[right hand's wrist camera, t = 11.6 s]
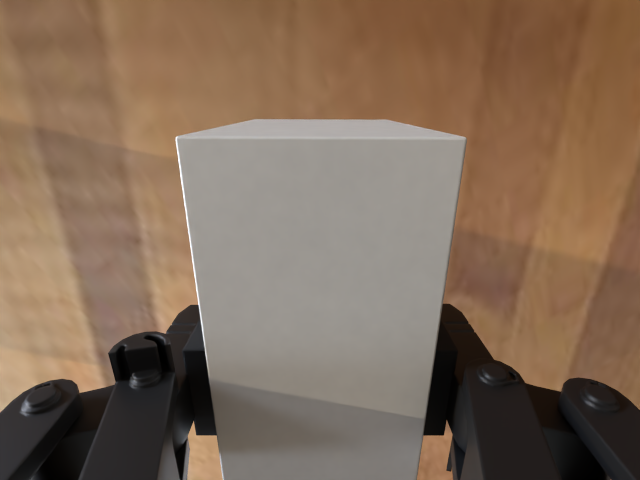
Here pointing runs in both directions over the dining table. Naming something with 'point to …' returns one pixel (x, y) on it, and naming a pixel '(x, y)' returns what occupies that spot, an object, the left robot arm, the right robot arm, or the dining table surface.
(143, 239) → the dining table surface
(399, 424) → the bar
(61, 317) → the dining table surface
